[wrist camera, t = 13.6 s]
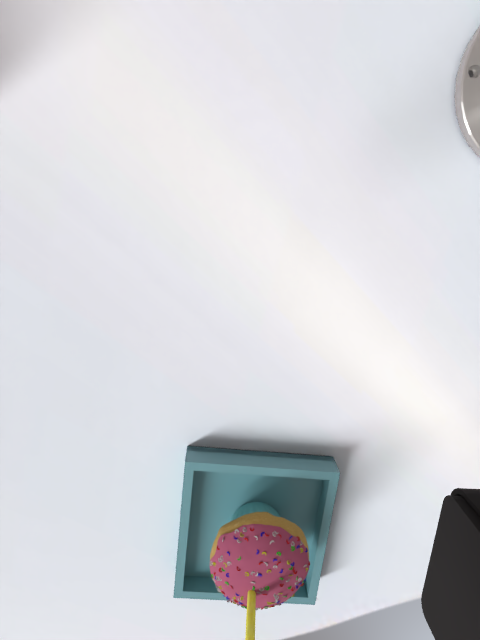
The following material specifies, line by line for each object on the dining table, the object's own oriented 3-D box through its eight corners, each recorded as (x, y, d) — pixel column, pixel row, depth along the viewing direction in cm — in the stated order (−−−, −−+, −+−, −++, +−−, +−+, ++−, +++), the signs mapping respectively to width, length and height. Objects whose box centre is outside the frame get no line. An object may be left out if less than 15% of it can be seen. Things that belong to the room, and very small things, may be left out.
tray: (332, 456, 38) (340, 472, 36) (309, 582, 42) (314, 604, 39) (187, 445, 37) (185, 461, 35) (176, 575, 41) (173, 597, 38)
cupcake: (257, 572, 40) (271, 717, 29) (191, 526, 39) (178, 660, 27) (317, 516, 39) (358, 644, 27) (252, 465, 37) (266, 578, 26)
